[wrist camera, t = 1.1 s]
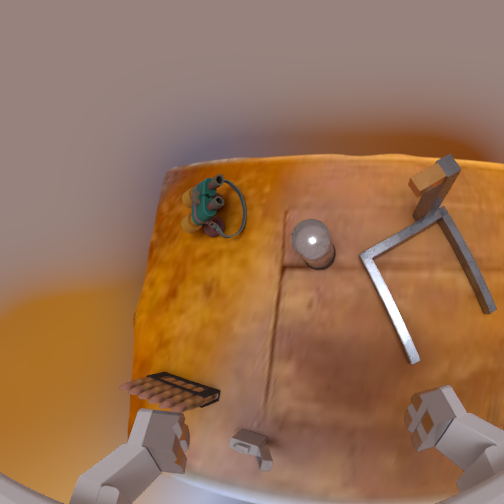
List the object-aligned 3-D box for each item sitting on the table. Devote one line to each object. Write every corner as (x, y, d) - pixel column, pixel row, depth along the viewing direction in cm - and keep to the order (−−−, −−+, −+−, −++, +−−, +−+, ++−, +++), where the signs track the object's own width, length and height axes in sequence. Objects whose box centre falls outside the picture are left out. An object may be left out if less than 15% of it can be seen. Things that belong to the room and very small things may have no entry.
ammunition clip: (162, 381, 46) (113, 391, 35) (164, 371, 47) (115, 379, 36) (218, 401, 42) (176, 420, 31) (220, 390, 43) (178, 407, 32)
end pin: (326, 233, 43) (318, 211, 35) (341, 260, 41) (337, 245, 33) (298, 247, 44) (284, 229, 36) (312, 275, 42) (301, 264, 34)
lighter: (239, 437, 40) (217, 456, 33) (242, 428, 40) (220, 446, 33) (283, 451, 37) (268, 473, 30) (286, 441, 38) (271, 463, 30)
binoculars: (229, 195, 52) (177, 182, 46) (263, 173, 45) (206, 155, 39) (230, 247, 50) (174, 238, 44) (267, 231, 43) (205, 219, 37)
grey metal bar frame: (433, 202, 38) (463, 146, 24) (489, 309, 32) (548, 300, 17) (354, 248, 41) (352, 206, 26) (409, 362, 35) (439, 384, 20)
